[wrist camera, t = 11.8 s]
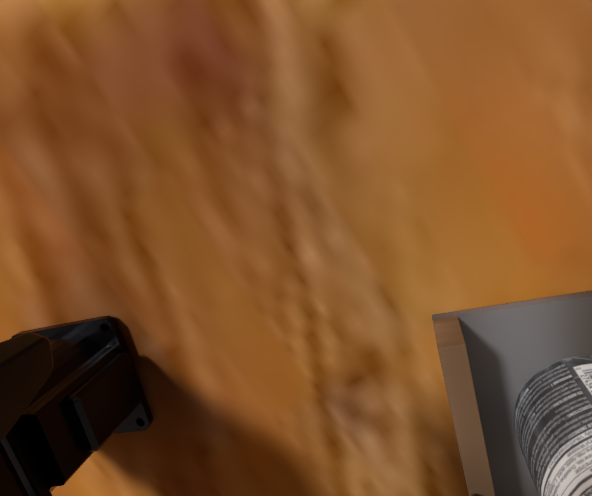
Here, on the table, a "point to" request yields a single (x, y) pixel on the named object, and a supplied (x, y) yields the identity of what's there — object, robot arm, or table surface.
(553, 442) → the pill bottle
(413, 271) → the table surface
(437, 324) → the box
